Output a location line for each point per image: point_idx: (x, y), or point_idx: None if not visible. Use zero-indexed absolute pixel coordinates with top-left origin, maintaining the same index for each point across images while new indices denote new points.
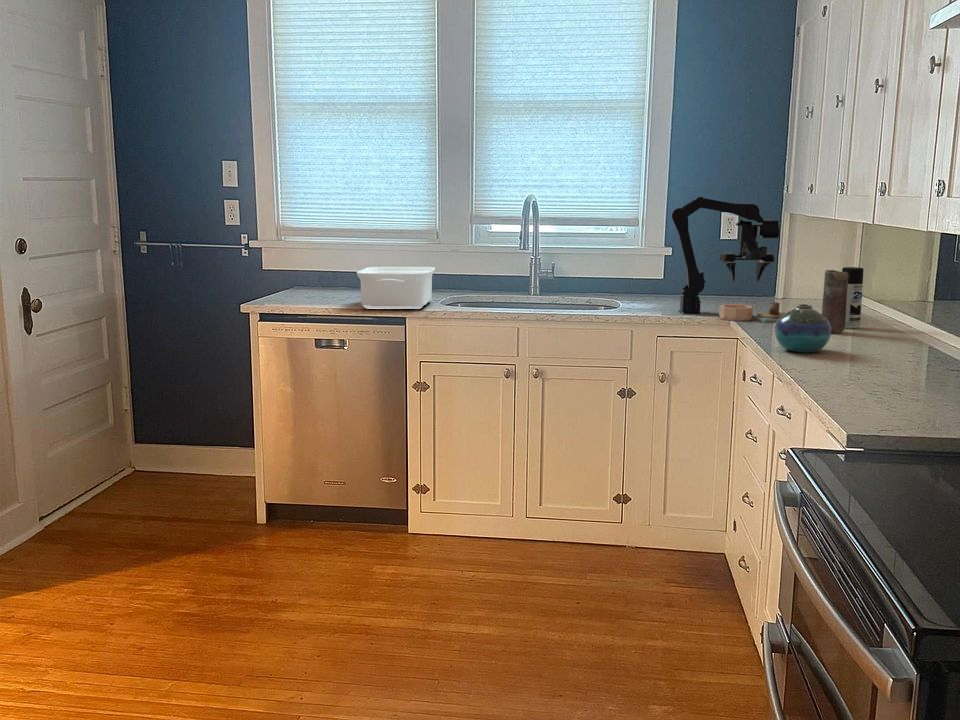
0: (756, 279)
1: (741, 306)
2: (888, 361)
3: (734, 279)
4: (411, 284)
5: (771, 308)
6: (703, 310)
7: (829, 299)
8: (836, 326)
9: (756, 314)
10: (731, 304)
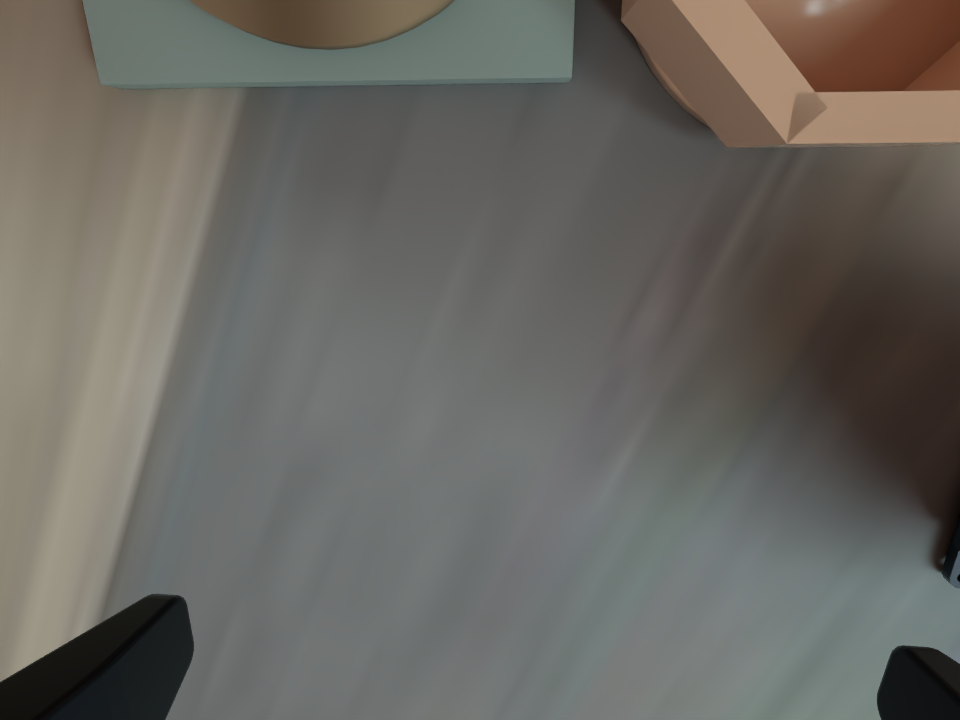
0: (174, 690)
1: (746, 19)
2: None
3: (938, 674)
4: None
5: None
6: (804, 618)
7: None
8: None
9: (486, 27)
10: (886, 119)
